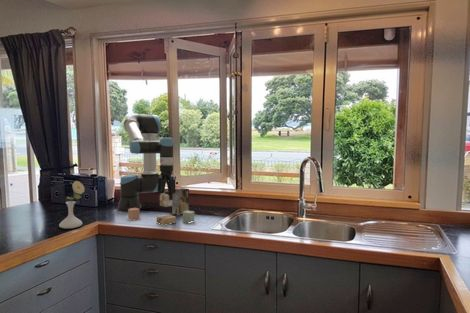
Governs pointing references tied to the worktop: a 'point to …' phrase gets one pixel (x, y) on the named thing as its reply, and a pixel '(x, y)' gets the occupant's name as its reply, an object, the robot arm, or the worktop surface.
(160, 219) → the oak base
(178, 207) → the coffee box
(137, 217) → the terracotta block
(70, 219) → the flower in vase
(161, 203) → the maple block
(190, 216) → the sage block
